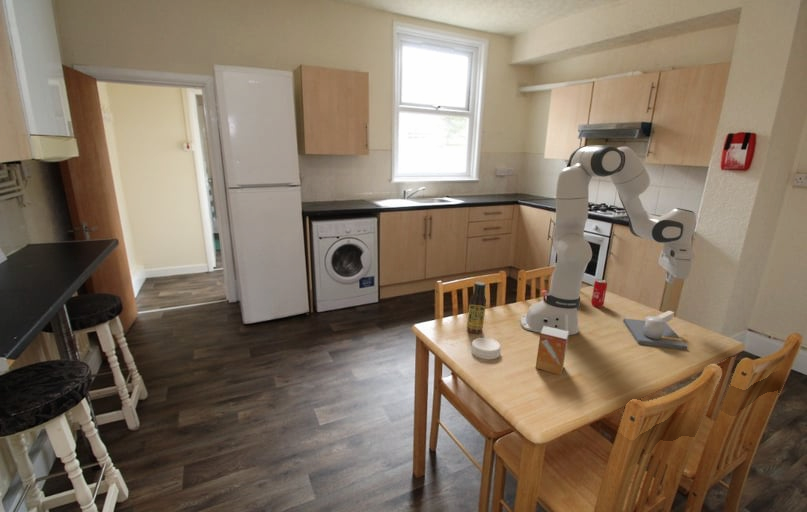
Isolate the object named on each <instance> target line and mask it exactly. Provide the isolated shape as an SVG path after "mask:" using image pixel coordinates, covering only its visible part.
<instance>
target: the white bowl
mask: <svg viewBox="0 0 807 512" xmlns="http://www.w3.org/2000/svg"><path fill="white" fill-rule="evenodd" d="M501 346H502V345H501V343H499V341H497V340H496V339H492V338H489V337H477V338H475V339H473V340H472V342H471V353H472V354H473V355H474V356H475V357H477V358H479V359H483V360H494V359H495V360H496V359H497V358H499V357H500V355H501V349H502V347H501Z"/></svg>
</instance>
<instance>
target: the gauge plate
mask: <svg viewBox="0 0 807 512" xmlns="http://www.w3.org/2000/svg"><path fill="white" fill-rule="evenodd" d="M622 321H623V323H624V325H625V326H626V328H627V330H628V331H629V334H631V336H632V337H633V338H634V340H635V341H636V343H637V344H638V345H645V346H653V347H654V346H655V347H660V348H668V349H677V350H684V351H687V349H688V345H687V344H686V343H685V342H684V341H683V339H682V338H681V337H680V336H679V335H678V334H677V333H676V332H675V330H674V329H672V327H670V325H669V324H668V322H667V323H665V324H664V329H663V333H662V338H660V339H654V338H650V337H647V336H645V335H644V334H643V331H644V327H645V322H646V320H643V319H642V320H641V319H635V318H624V317H623V320H622Z"/></svg>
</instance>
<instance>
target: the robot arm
mask: <svg viewBox="0 0 807 512" xmlns="http://www.w3.org/2000/svg"><path fill="white" fill-rule="evenodd" d="M593 177H602V178H603V177H605V178H606V177H610V179H611V181H612V183H613V185H614V186H615V188H616V190H617V194H618V197H619V200H620V203H621V205H622V207H623V209H624V212H625V214H626V216H627V220H628V226H629V227H628V228H629V231H630V232H631V234H632V235H633V236H635V237H637V238H641V239H646V240H649V241H652V242H655V243H659V244H660V243H661V244H662V243H663V246H662V249H661V251H660V254H659V257H658V265H659V266H660V267H661V268H663V269H664V270H665V282H667V284H669V285H670V284H674V282H675V279H680V280H687V279H688V278H689V275H690V272H691V268H692V264H693V263H692V261H693V260H695V253H694V251H693V250H692V238H693V235H694V234H695V231H696V223H697V215H696V212H694V211H693V210H690V209H684V208H679V207H675V208H672V209H671V210H670V211H669V212H667V213H665V214H663V215H659V216H657V215H655V214H652V213H649V212H648V211H646V210H645V208H644V206H643V204H642V200H641V198H640V195H642V194H644V192H646V191H647V189H648V188H649V185H650V183H651V179H650V176H649V173H648V170H647V169H646V167H645V165H644V164H643V161H642V160H641V159H640V157H639V156H638V154H636V152H635V151H633V149H632V148H630V147H629V146H619V147H615V146H613V145H608V144H607V145H599V144H590V145H583V146H580V147H578V148H576V149H575V150H574V151H572V153H571V154H570V156H569V159H568V163H567V164H566V167H565V168H563V169H562V170H560V172H559V174H558V178H557V183H556V190H555V191H556V192H555V221H554V222H555V223H554V229H553V240H552V247H553V250H554V251H555V253H556V255H557V258H556V259H557V260H556V263H555V266H554V270H553V272H552V274H551V280H550V286H549V287H550V288H549V291H547V290H546V289H544V290H542V291H541V294H542V296H543V299H542V300H540V301H538V302H536V303H533V304H532V305H530V306H529V308H528V310H527V312H526V313H525V314H522V315H521V317H520V320H519V323H520V326H521V327H522V329H524V330H526V331H530V332H534V333H540V334H541V331H542V329H543V326H546V327H551V328H556V329H560V330H564V331H569V335H568V336H572V335H573V336H574V335H576V334H578V333H579V331H580V330H579V329H580V328H579V323H578V322H579V321H578V318H579V316H578V313H579V309H580V307H581V297H580V295H581V289H582V282H583V278H584V274H585V272H586V270H587V267H588V264H589V263H590V262H591V260H592V257H593V251H592V247H591V245H590V243H589V242H588V241H587V240H586V239H585V237H584V236H585V235H584V232H585V227H586V224H587V220H588V219H589V187H590V182H591V180H592V178H593Z"/></svg>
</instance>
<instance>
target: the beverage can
mask: <svg viewBox="0 0 807 512" xmlns="http://www.w3.org/2000/svg"><path fill="white" fill-rule="evenodd" d="M607 287H608V282H607V281H606V280H605V279H595V280H594V285H593V290H592V295H591V306H593V307H597V308H602V307H603V305H605V304H604V303H605V298H606V292H607Z"/></svg>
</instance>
